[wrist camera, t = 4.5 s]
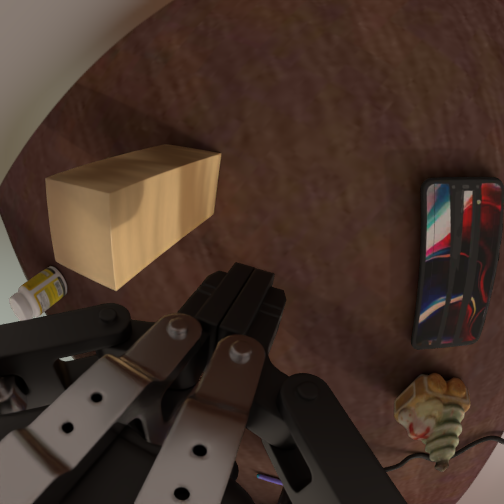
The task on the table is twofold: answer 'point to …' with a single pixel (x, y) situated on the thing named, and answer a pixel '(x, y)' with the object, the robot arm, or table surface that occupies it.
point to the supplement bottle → (38, 294)
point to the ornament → (434, 414)
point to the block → (129, 209)
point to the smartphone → (457, 259)
